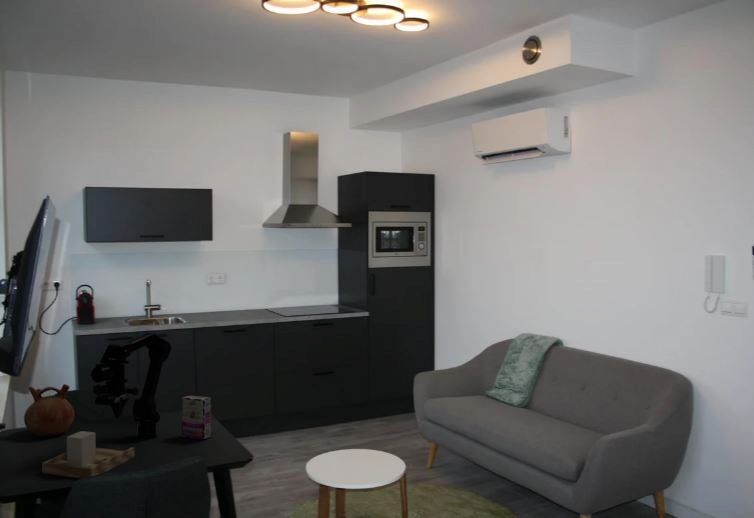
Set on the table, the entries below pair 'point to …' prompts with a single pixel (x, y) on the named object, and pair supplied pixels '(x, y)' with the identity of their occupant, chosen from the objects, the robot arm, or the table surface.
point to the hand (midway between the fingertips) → (117, 418)
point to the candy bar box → (196, 417)
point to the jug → (49, 413)
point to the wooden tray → (103, 463)
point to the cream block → (81, 449)
